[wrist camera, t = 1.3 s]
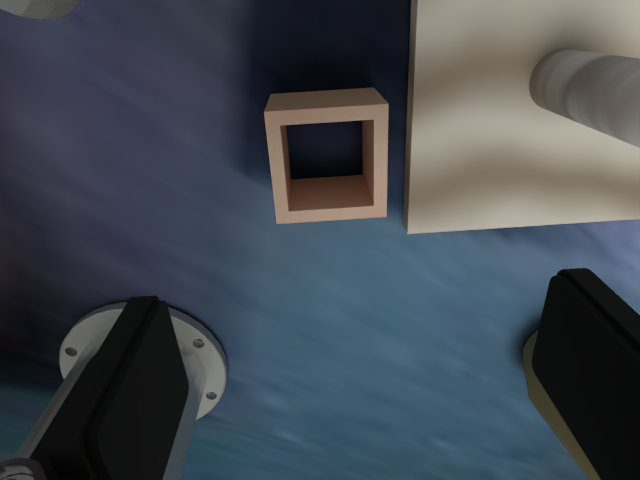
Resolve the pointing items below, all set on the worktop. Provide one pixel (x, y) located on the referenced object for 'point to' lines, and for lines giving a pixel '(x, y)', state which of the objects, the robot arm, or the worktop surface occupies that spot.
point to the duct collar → (329, 192)
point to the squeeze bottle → (553, 412)
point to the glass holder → (39, 8)
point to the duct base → (522, 113)
